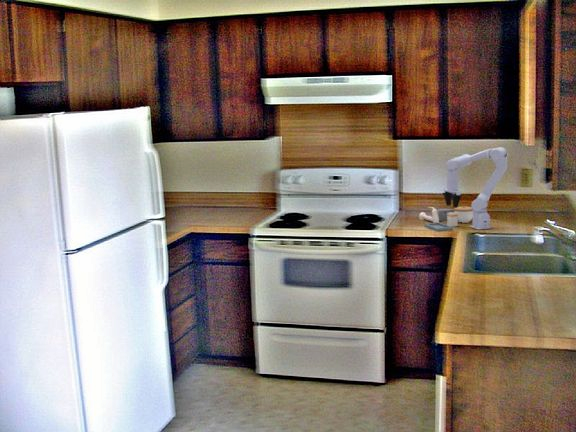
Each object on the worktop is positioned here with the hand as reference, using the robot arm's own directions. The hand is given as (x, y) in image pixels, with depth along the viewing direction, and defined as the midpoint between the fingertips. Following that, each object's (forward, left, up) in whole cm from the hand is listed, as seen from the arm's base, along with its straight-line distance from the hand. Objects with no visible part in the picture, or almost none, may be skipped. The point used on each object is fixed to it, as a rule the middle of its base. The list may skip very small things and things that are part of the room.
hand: (451, 206), depth 405 cm
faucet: (+17, +5, -11) cm, 21 cm away
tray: (-3, +10, -10) cm, 15 cm away
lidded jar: (+7, -11, -11) cm, 17 cm away
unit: (+16, -3, -10) cm, 19 cm away
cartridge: (0, 0, -10) cm, 10 cm away
